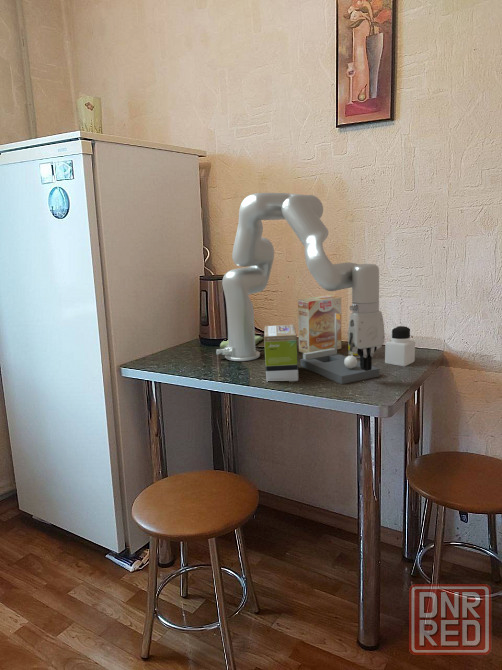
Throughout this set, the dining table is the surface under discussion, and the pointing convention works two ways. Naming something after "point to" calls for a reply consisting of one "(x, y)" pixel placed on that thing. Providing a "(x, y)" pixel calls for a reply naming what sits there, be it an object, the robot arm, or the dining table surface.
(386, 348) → the medicine bottle
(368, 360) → the robot arm
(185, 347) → the dining table surface
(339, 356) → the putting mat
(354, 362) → the ball
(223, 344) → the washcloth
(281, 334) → the tea box
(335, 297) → the coffeecake box
